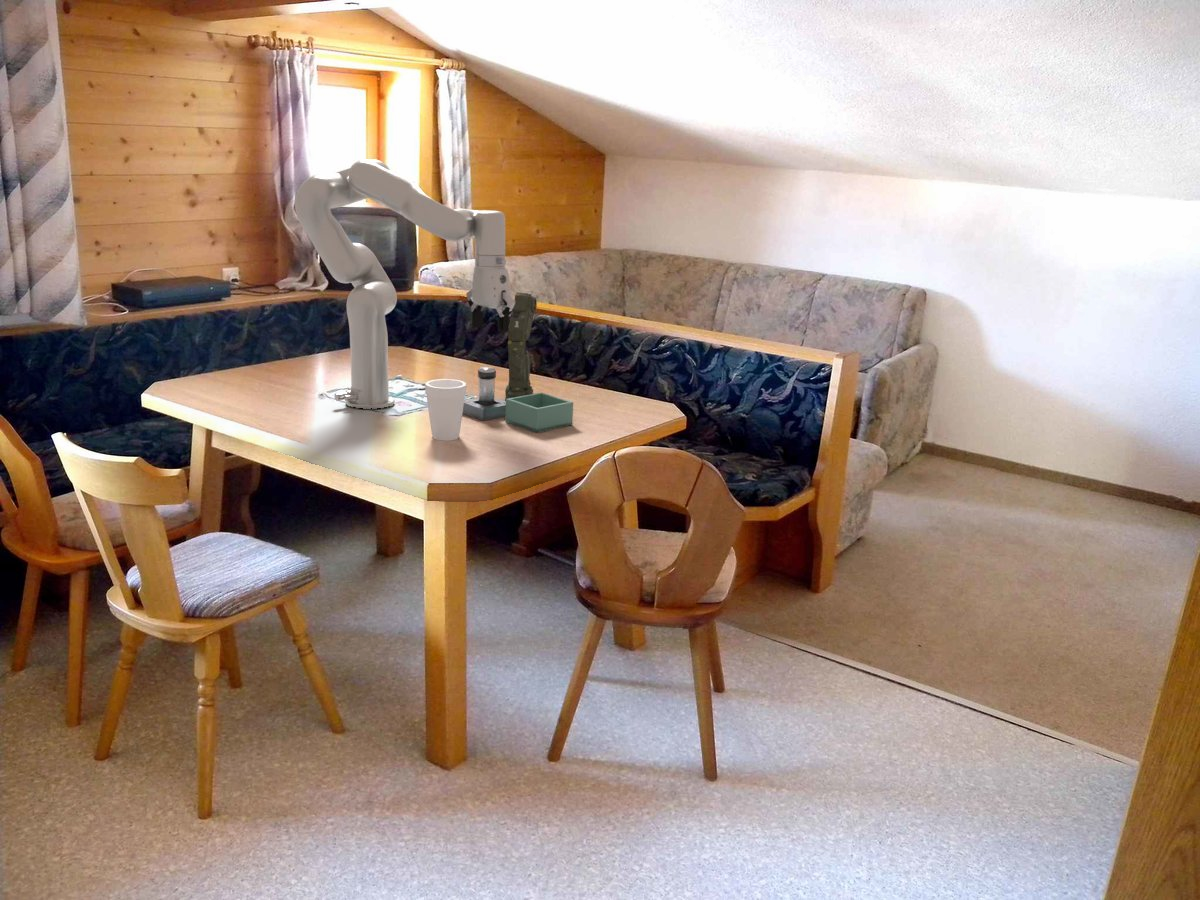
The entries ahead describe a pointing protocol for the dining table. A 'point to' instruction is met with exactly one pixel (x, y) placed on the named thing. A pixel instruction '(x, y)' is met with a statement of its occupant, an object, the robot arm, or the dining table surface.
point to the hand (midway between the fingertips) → (490, 329)
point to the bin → (539, 412)
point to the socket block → (484, 409)
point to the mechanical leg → (520, 346)
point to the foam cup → (445, 407)
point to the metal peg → (486, 385)
